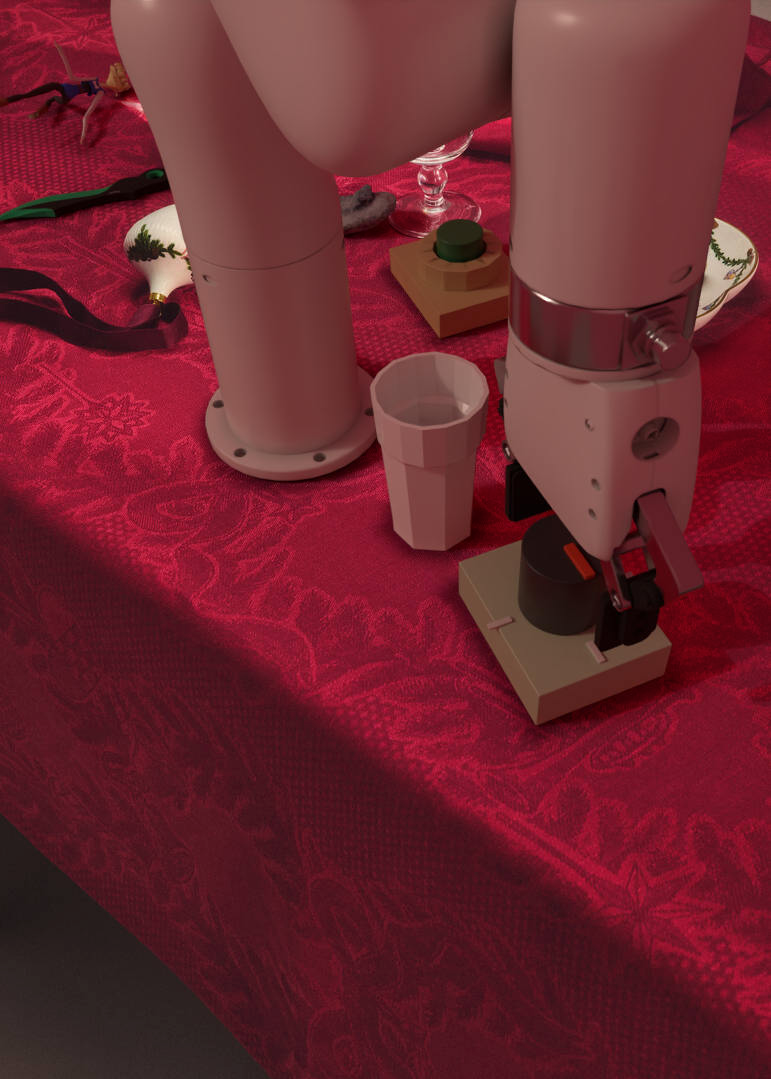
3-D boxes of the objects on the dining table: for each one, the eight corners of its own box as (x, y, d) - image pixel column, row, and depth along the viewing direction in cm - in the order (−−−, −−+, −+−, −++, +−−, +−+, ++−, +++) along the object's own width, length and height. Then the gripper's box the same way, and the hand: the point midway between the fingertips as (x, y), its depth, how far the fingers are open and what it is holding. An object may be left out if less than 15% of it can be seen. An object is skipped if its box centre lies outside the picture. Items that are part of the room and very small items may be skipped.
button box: (390, 271, 82) (388, 228, 79) (478, 246, 84) (478, 203, 81) (439, 338, 76) (438, 295, 73) (533, 310, 78) (536, 266, 75)
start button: (429, 245, 78) (428, 225, 77) (470, 233, 79) (471, 213, 78) (448, 269, 76) (448, 249, 75) (490, 256, 77) (491, 236, 75)
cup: (362, 537, 63) (347, 406, 55) (414, 471, 67) (407, 339, 59) (454, 575, 61) (453, 444, 53) (502, 505, 65) (508, 372, 56)
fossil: (292, 210, 85) (311, 174, 88) (304, 243, 88) (322, 208, 90) (383, 208, 82) (399, 171, 85) (393, 242, 85) (408, 205, 87)
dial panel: (450, 596, 60) (450, 562, 58) (583, 548, 62) (587, 514, 59) (527, 729, 54) (530, 698, 51) (672, 672, 55) (681, 639, 53)
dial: (503, 583, 56) (505, 526, 53) (578, 556, 57) (585, 498, 54) (543, 647, 53) (548, 591, 50) (621, 617, 54) (632, 560, 51)
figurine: (171, 16, 101) (6, 71, 90) (185, 103, 107) (31, 165, 96) (106, -1, 106) (-59, 49, 95) (122, 83, 112) (-31, 140, 101)
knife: (227, 145, 97) (238, 169, 94) (228, 152, 97) (239, 176, 94) (-16, 197, 93) (-13, 224, 90) (-13, 205, 93) (-10, 232, 90)
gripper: (821, 390, 35) (734, 669, 48) (578, 178, 46) (559, 450, 59) (635, 456, 34) (596, 725, 46) (430, 220, 45) (443, 489, 57)
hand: (575, 571), depth 53 cm, fingers open, 9 cm apart
